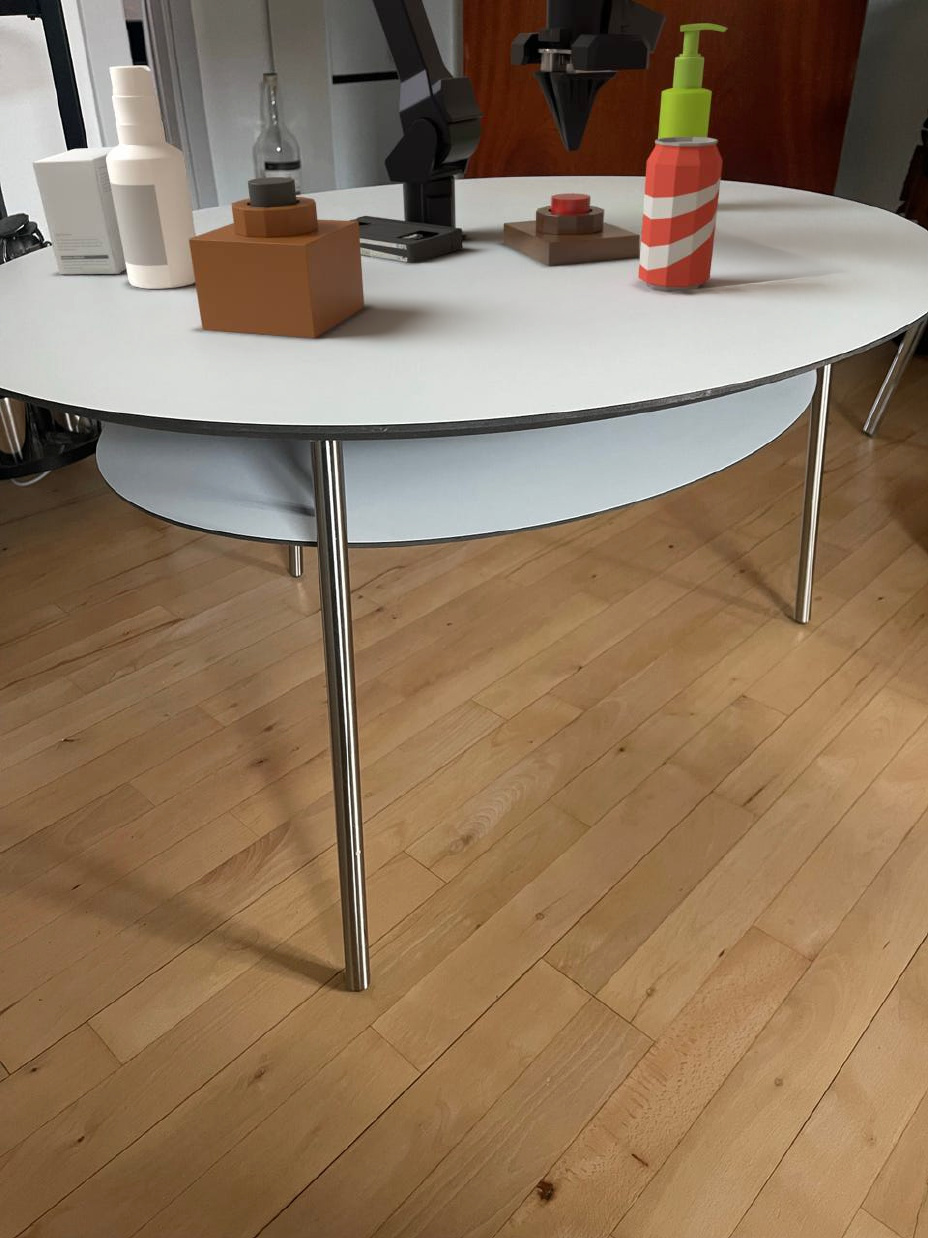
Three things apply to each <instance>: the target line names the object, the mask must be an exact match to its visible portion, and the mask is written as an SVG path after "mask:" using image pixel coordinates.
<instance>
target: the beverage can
mask: <svg viewBox="0 0 928 1238" xmlns="http://www.w3.org/2000/svg"><path fill="white" fill-rule="evenodd" d="M718 143H719V140H718V138H717V139H716V138H712V137H707V138H704V137H669V138H659V139H658V138H657V139H655V140H654V144H655V146H654V148H653V150H652V151H651V153H650V155H649V157H648V158H647V160H646V165H645V166H646V167H645V169H646V170H645V182H644V193H643V195H644V196H643V208H642V222H641V234H640V247H639V262H638V263H639V264H638V279H639V280H641V281H643V282H645V284H646V286H647V287H649V288H651V289H652V290H655V291H662V292H673V293H674V292H675V293H676V292H677V293H678V292H680V293H681V292H682V293H685V292H688V291H695V290H697V289H698V288H699V287H700V286H701V285H704V284H706V283H707V282H708V281H709V280H710V278H711V270H712V261H713V251H714V242H715V234H716V225H717V216H718V205H719V197H720V188H721V179H722V170H723V162H724V161H723V158H722V156H721V153H720V151H719V148H718V146H717V144H718Z"/></svg>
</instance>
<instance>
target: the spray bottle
mask: <svg viewBox="0 0 928 1238" xmlns="http://www.w3.org/2000/svg"><path fill="white" fill-rule="evenodd" d="M109 73H110V79H111V85H112V95H111V100H112V105H113V110H114V116H115V128H116V133H117V137H118V144H117V146H114V147H115V148H114V149H113V150H112V151H111V152H110V153H109V154H108V155H107V157H106V163H107V168H108V174H109V179H110V184H111V189H112V195H113V200H114V205H115V211H116V216H117V221H118V226H119V232H120V237H121V242H122V248H123V253H124V258H125V263H126V269H125V270H126V274H127V279H128V282H129V283H130V285H131V286H133V287H136V288H140V289H146V290H147V289H148V290H165V289H166V290H167V289H177V288H181V287H186V286H191V285H192V284H195V277H194V270H193V264H192V257H191V251H190V244H189V239H190V238H193V237H196V236H197V235H196V228H195V220H194V214H193V209H192V201H191V195H190V187H189V182H188V174H187V168H186V161H185V155H184V152H182V151H181V150H180V149H179V148H178V147H176V146H174V145H172V144H170V143H169V142H167V140H166V134H165V128H164V121H163V120H162V115H161V108H160V102H159V96H158V94H157V93H156V88H155V87H154V82H153V81H154V80H153V75H152V70H151V69H150V67H149V66H148V65H119V66H118V65H117V66H109Z"/></svg>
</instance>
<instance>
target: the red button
mask: <svg viewBox="0 0 928 1238" xmlns="http://www.w3.org/2000/svg"><path fill="white" fill-rule="evenodd" d="M550 206H551V212H552V213H558V214H582V213H589V212H590V206H591V196H590V195H589V194H585V193H574V192H573V193H572V192H571V193H569V192H568V193H558V194H557V193H556V194H553V195H551V196H550Z"/></svg>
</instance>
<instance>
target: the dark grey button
mask: <svg viewBox="0 0 928 1238" xmlns="http://www.w3.org/2000/svg"><path fill="white" fill-rule="evenodd" d="M247 189H248V195H249V199H250V205H251V206H253V207H283V206H290V205H295V204H297V201H296V197H297V192H296V191H297V190H296V181H295V179H294V178H291V177H284V176H283V177H282V176H278V177H277V176H276V177H275V176H273V177H270V176H269V177H259V178H253V179H250V180H248V181H247Z"/></svg>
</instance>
